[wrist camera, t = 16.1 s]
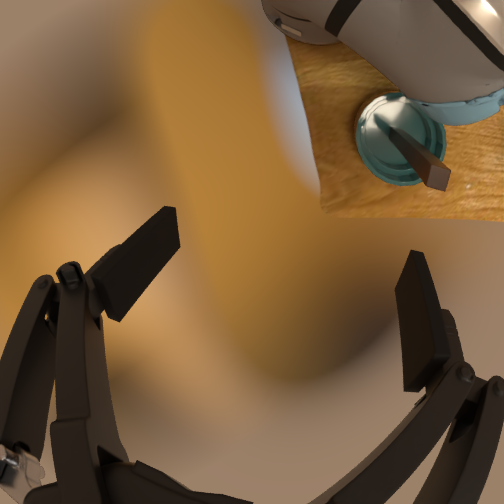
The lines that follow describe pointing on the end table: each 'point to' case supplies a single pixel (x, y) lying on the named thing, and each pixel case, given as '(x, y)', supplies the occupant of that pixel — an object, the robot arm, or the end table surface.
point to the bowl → (377, 136)
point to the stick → (421, 159)
